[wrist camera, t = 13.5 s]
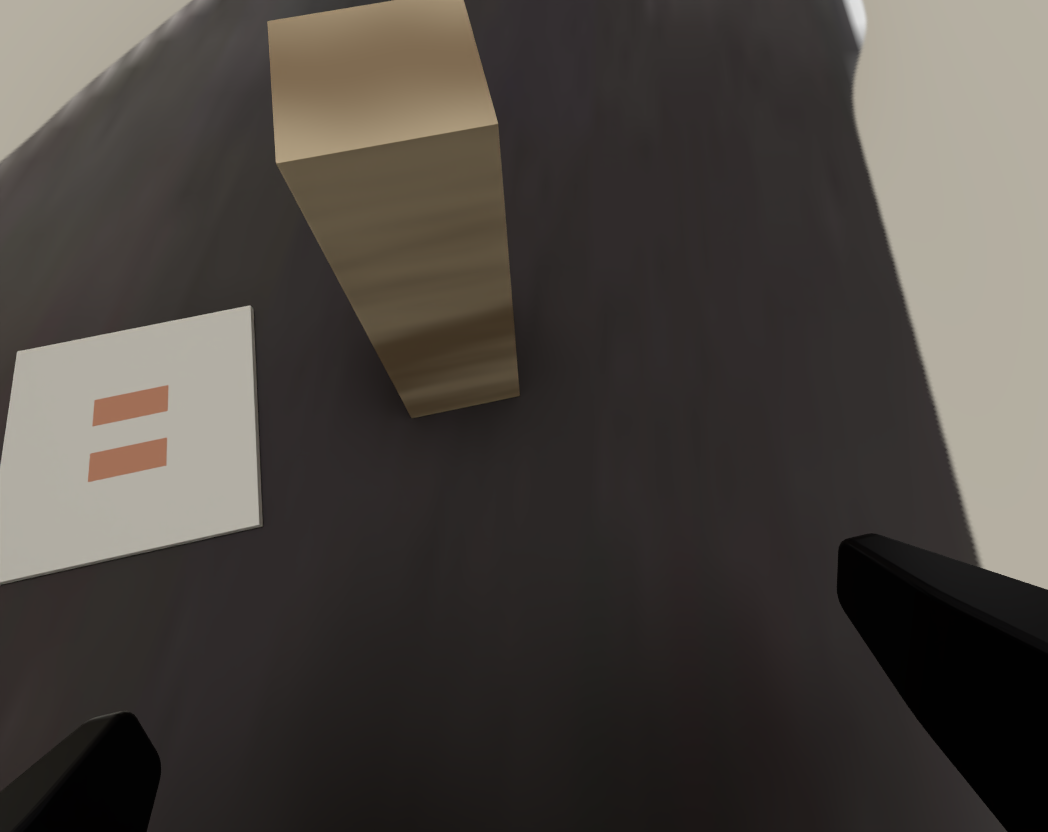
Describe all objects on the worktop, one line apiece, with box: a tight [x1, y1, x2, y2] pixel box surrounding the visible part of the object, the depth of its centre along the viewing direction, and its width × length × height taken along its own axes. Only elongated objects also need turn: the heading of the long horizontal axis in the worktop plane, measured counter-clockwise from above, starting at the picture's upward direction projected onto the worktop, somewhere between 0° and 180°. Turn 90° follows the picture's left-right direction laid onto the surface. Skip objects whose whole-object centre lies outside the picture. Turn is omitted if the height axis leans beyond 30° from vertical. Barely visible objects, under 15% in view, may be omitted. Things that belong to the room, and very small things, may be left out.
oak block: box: [268, 0, 520, 418], centre depth 18 cm, size 4×4×13 cm
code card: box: [0, 305, 263, 585], centre depth 23 cm, size 10×10×1 cm
